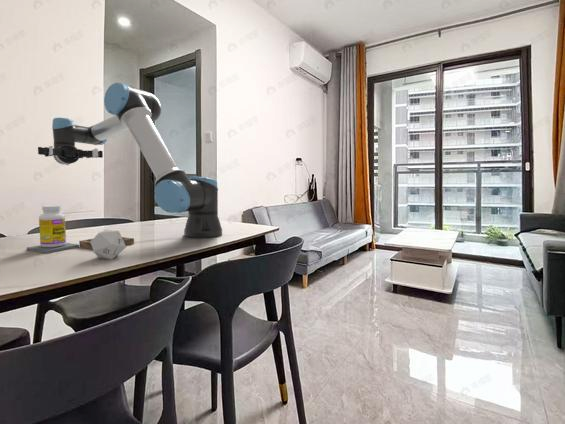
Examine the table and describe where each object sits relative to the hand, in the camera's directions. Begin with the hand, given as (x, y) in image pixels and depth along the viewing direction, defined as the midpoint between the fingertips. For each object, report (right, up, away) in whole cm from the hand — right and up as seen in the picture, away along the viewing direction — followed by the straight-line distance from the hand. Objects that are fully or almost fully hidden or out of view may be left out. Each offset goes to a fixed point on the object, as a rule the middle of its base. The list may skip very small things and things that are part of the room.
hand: (75, 151), depth 111 cm
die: (+24, -35, -22) cm, 48 cm away
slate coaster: (+1, -33, -12) cm, 35 cm away
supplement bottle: (+1, -33, -12) cm, 35 cm away
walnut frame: (+15, -33, -6) cm, 37 cm away
